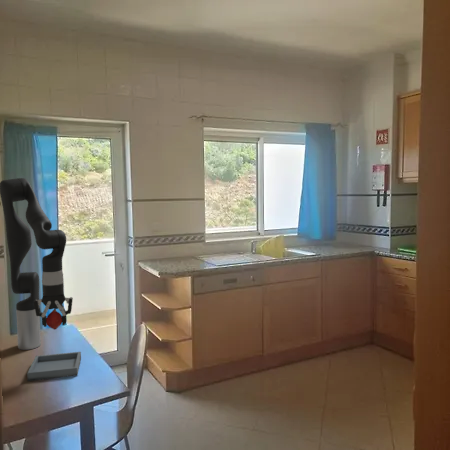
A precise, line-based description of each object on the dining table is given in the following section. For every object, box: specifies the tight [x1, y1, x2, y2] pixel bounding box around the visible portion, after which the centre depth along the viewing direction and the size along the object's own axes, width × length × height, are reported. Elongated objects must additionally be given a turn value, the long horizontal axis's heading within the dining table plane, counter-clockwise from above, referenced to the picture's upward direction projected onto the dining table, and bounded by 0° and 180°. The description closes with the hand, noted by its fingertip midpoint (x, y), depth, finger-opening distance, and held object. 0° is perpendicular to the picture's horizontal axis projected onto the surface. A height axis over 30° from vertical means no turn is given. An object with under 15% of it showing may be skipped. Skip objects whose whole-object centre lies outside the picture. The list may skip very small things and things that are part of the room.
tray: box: [26, 351, 82, 382], centre depth 161 cm, size 17×17×3 cm
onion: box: [46, 309, 62, 330], centre depth 160 cm, size 6×6×8 cm
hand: (54, 325), depth 161 cm, fingers closed on onion, 6 cm apart
